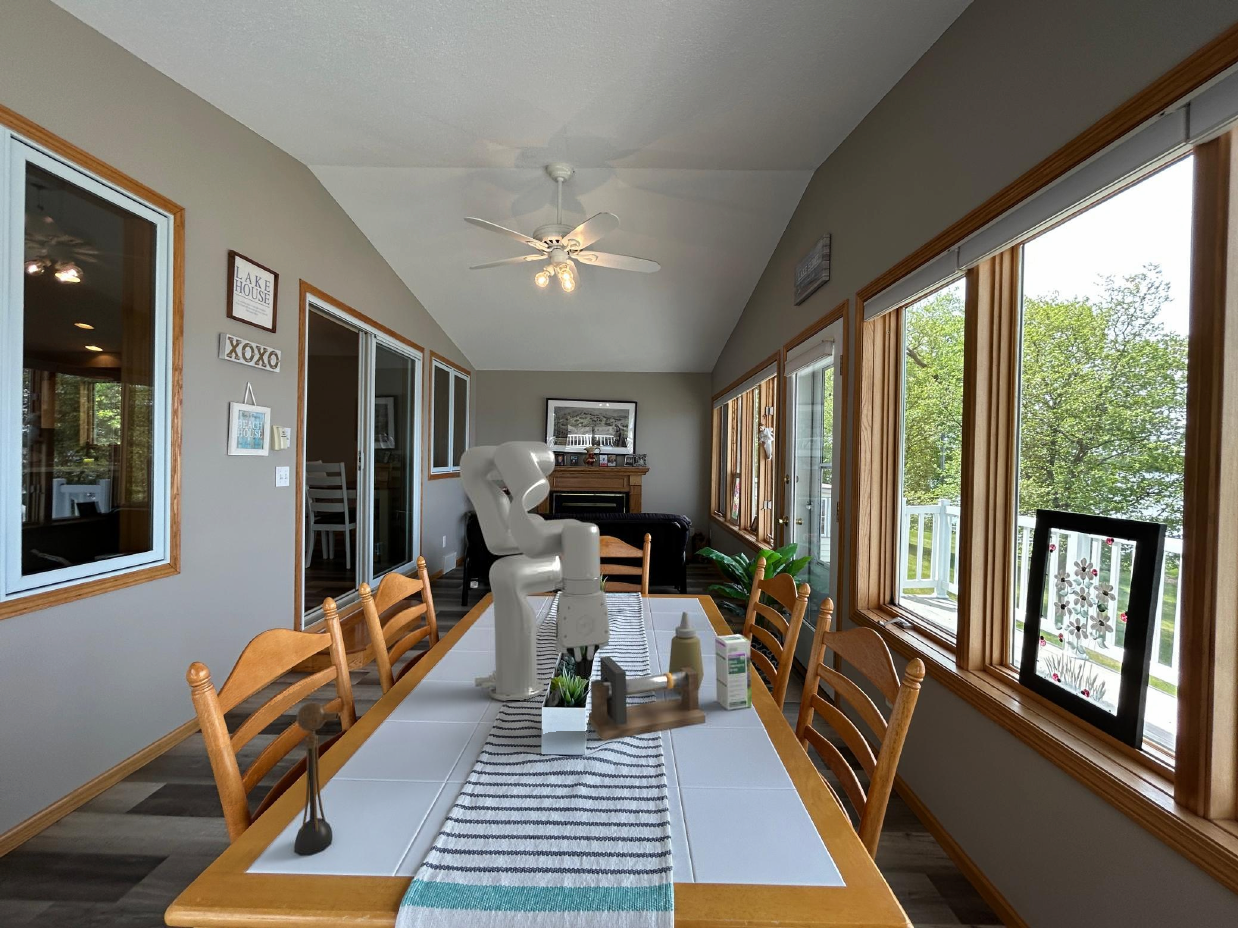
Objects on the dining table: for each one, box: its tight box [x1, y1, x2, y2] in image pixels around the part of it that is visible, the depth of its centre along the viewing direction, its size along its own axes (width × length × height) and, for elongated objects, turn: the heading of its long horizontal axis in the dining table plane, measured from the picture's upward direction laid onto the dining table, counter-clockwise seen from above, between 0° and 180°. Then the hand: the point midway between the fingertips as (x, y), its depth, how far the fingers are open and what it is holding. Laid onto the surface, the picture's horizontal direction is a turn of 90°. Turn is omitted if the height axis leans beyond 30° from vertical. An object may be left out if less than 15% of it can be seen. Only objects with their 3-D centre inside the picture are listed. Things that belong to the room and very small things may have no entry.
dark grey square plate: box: [599, 656, 627, 725], centre depth 120 cm, size 2×10×10 cm, turn 19°
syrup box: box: [714, 633, 752, 711], centre depth 130 cm, size 6×6×14 cm
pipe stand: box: [588, 667, 706, 742], centre depth 122 cm, size 22×10×9 cm, turn 110°
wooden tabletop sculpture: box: [293, 701, 339, 857], centre depth 84 cm, size 6×5×20 cm
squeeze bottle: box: [668, 611, 705, 694], centre depth 139 cm, size 8×8×18 cm
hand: (582, 678), depth 118 cm, fingers closed
